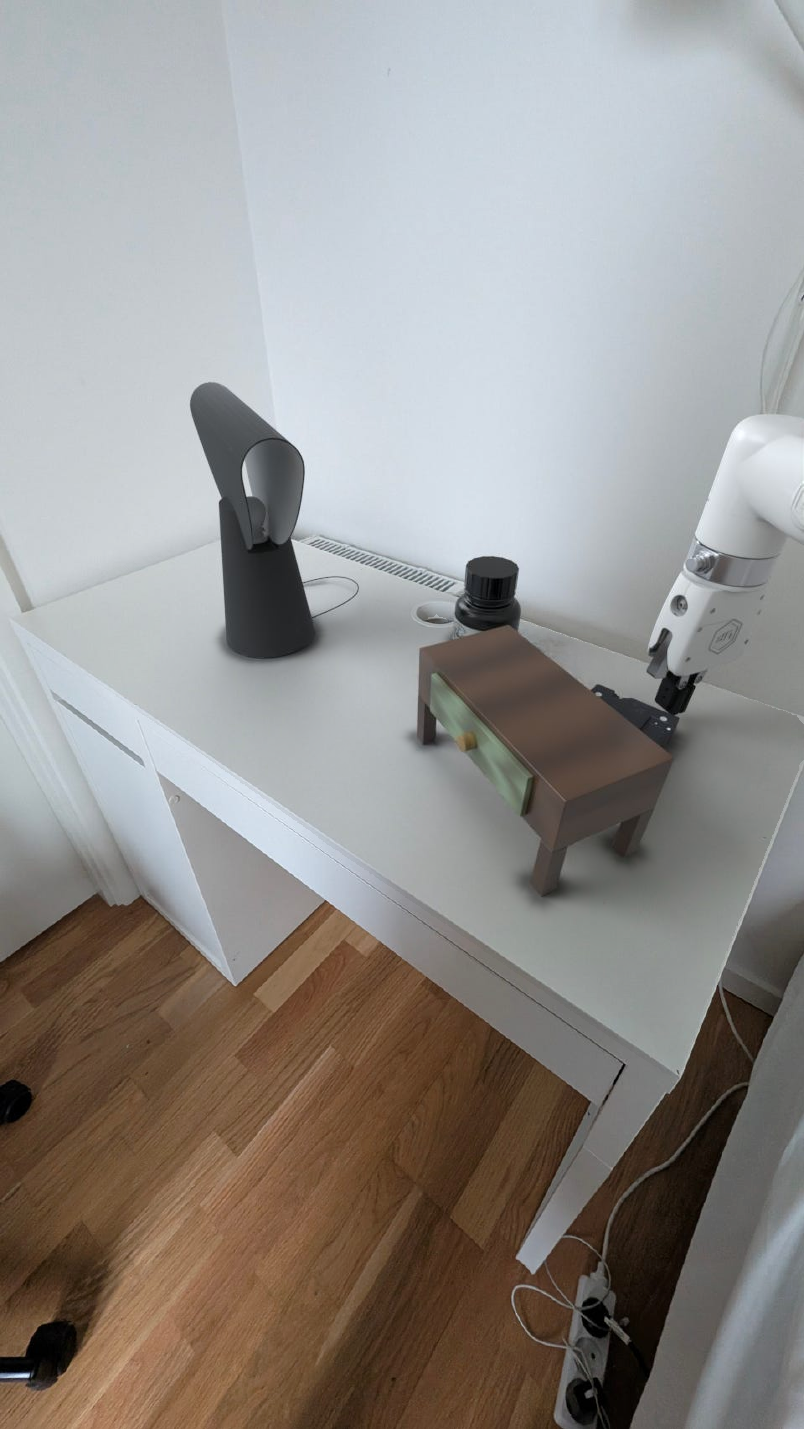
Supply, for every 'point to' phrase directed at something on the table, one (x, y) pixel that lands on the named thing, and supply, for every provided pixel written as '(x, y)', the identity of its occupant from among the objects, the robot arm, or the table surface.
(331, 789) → the table surface
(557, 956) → the table surface
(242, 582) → the table lamp
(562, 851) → the drawer unit
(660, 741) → the disk drive
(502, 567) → the ink bottle
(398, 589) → the table surface
